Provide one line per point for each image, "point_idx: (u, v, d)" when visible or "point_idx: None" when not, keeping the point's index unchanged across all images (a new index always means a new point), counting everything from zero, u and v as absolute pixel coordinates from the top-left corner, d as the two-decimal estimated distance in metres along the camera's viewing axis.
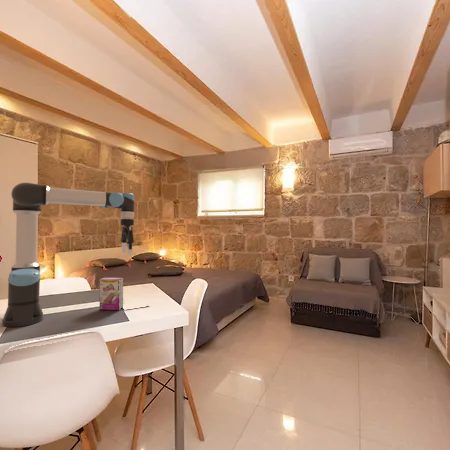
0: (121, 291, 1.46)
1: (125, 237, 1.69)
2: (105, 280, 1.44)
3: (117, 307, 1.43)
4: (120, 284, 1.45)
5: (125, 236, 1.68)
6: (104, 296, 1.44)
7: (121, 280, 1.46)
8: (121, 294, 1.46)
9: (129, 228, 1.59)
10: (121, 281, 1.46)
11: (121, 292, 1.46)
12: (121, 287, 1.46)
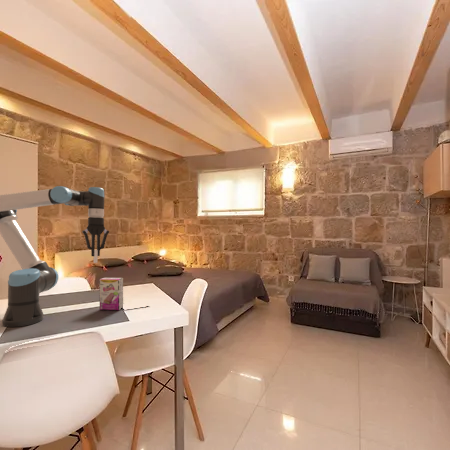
0: (121, 291, 1.46)
1: (97, 241, 1.42)
2: (105, 280, 1.44)
3: (117, 307, 1.43)
4: (120, 284, 1.45)
5: (97, 239, 1.42)
6: (104, 296, 1.44)
7: (121, 280, 1.46)
8: (121, 294, 1.46)
9: (83, 233, 1.39)
10: (121, 281, 1.46)
11: (121, 292, 1.46)
12: (121, 287, 1.46)
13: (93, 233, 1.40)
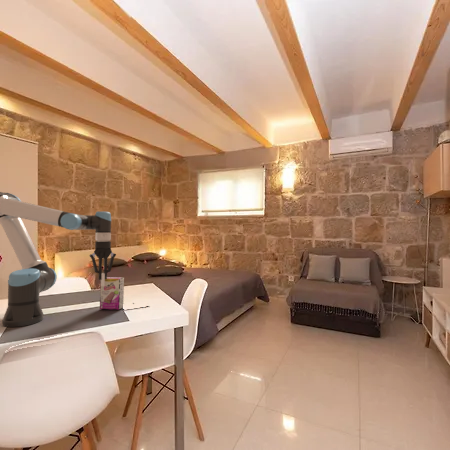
0: (122, 290, 1.47)
1: (104, 264, 1.44)
2: (106, 279, 1.45)
3: (117, 306, 1.43)
4: (121, 283, 1.46)
5: (104, 262, 1.44)
6: (105, 295, 1.44)
7: (122, 279, 1.47)
8: (122, 293, 1.46)
9: None
10: (122, 280, 1.47)
11: (122, 291, 1.47)
12: (122, 286, 1.47)
13: (100, 257, 1.42)
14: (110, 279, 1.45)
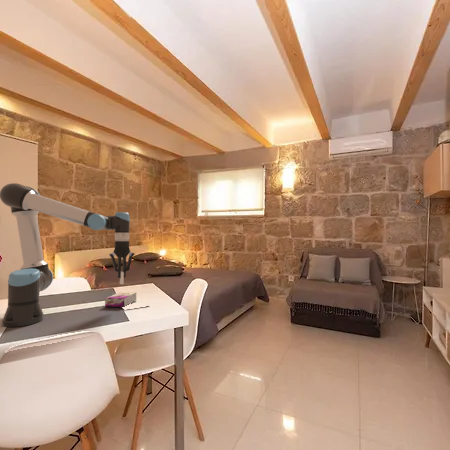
0: (131, 299, 1.57)
1: (123, 263, 1.49)
2: None
3: (124, 297, 1.50)
4: (134, 296, 1.61)
5: (123, 261, 1.49)
6: (117, 295, 1.56)
7: (135, 297, 1.63)
8: (130, 300, 1.56)
9: (110, 256, 1.46)
10: (135, 297, 1.63)
11: (131, 299, 1.57)
12: (133, 298, 1.60)
13: (120, 256, 1.47)
14: None
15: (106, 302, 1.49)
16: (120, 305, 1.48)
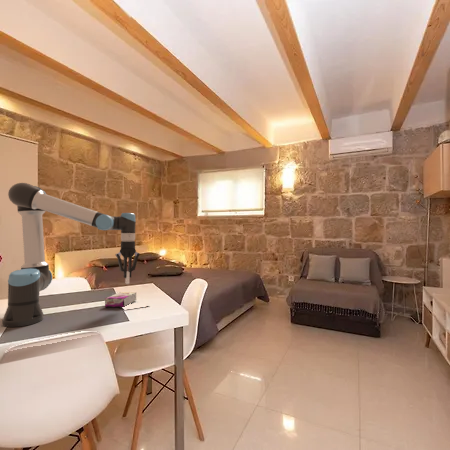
0: (131, 299, 1.57)
1: (129, 263, 1.51)
2: (124, 292, 1.65)
3: (124, 297, 1.50)
4: (134, 296, 1.61)
5: (129, 261, 1.51)
6: (116, 295, 1.56)
7: (135, 297, 1.63)
8: (130, 300, 1.56)
9: (116, 256, 1.48)
10: (135, 297, 1.63)
11: (131, 299, 1.57)
12: (133, 298, 1.60)
13: (126, 256, 1.49)
14: (127, 292, 1.64)
15: (106, 302, 1.49)
16: (120, 305, 1.48)
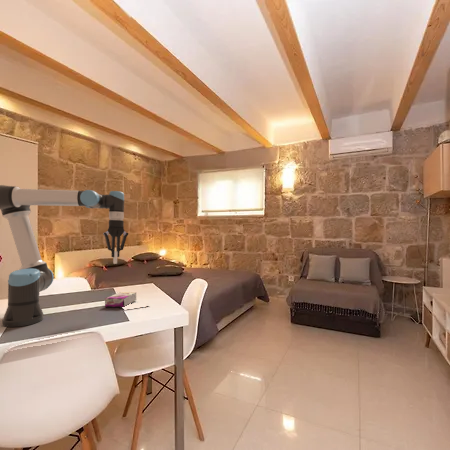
0: (131, 299, 1.57)
1: (117, 242, 1.48)
2: (124, 292, 1.65)
3: (124, 297, 1.50)
4: (134, 296, 1.61)
5: (117, 241, 1.48)
6: (116, 295, 1.56)
7: (135, 297, 1.63)
8: (130, 300, 1.56)
9: (104, 234, 1.45)
10: (135, 297, 1.63)
11: (131, 299, 1.57)
12: (133, 298, 1.60)
13: (113, 235, 1.46)
14: (127, 292, 1.64)
15: (106, 302, 1.49)
16: (120, 305, 1.48)
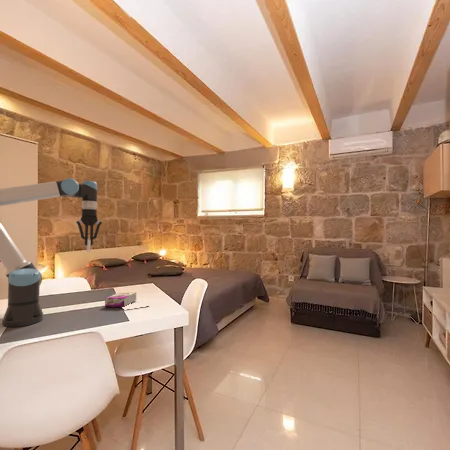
0: (131, 299, 1.57)
1: (90, 231, 1.52)
2: (124, 292, 1.65)
3: (124, 297, 1.50)
4: (134, 296, 1.61)
5: (90, 229, 1.52)
6: (116, 295, 1.56)
7: (135, 297, 1.63)
8: (130, 300, 1.56)
9: (77, 223, 1.49)
10: (135, 297, 1.63)
11: (131, 299, 1.57)
12: (133, 298, 1.60)
13: (86, 224, 1.50)
14: (127, 292, 1.64)
15: (106, 302, 1.49)
16: (120, 305, 1.48)
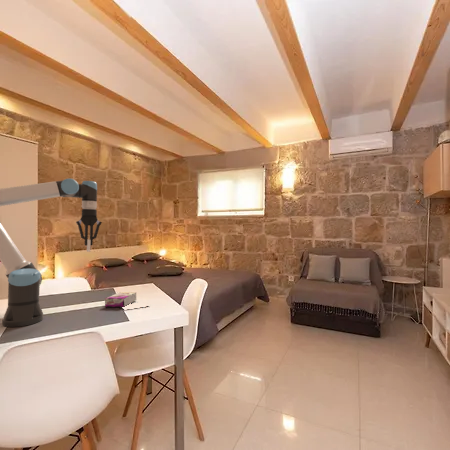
0: (131, 299, 1.57)
1: (90, 231, 1.52)
2: (124, 292, 1.65)
3: (124, 297, 1.50)
4: (134, 296, 1.61)
5: (90, 229, 1.52)
6: (116, 295, 1.56)
7: (135, 297, 1.63)
8: (130, 300, 1.56)
9: None
10: (135, 297, 1.63)
11: (131, 299, 1.57)
12: (133, 298, 1.60)
13: (86, 224, 1.50)
14: (127, 292, 1.64)
15: (106, 302, 1.49)
16: (120, 305, 1.48)
